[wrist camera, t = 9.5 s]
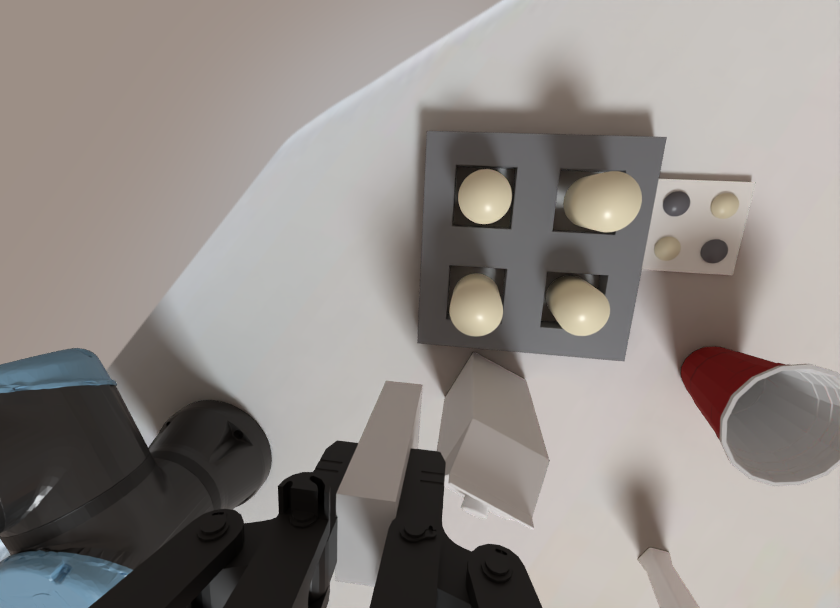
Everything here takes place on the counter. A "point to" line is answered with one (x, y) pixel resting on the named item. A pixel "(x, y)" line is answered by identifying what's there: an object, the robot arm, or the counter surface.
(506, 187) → the cream rounded cylinder
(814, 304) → the counter surface
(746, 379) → the plastic cup
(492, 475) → the milk carton
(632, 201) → the cream domed cylinder
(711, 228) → the card
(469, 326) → the cream rounded cylinder
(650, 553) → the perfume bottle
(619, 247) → the board
